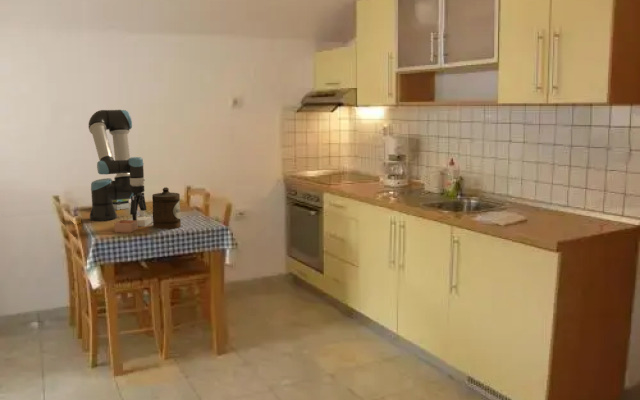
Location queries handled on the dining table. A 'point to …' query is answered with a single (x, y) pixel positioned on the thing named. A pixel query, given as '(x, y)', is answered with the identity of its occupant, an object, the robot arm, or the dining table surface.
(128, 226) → the dish
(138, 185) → the robot arm
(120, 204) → the tea box
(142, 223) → the lid
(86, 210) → the dining table surface
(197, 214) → the dining table surface
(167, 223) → the wooden container
